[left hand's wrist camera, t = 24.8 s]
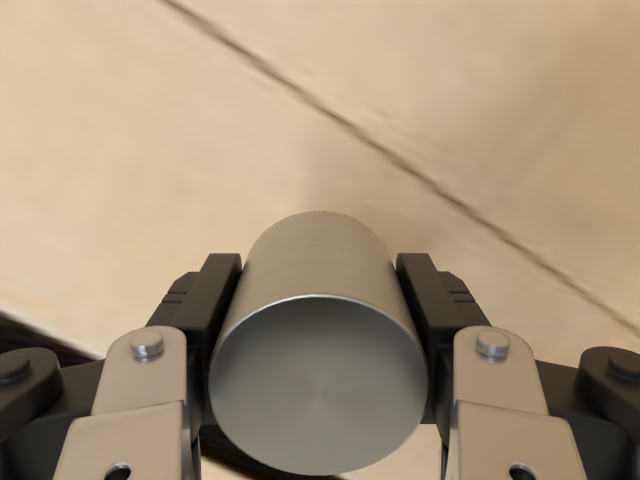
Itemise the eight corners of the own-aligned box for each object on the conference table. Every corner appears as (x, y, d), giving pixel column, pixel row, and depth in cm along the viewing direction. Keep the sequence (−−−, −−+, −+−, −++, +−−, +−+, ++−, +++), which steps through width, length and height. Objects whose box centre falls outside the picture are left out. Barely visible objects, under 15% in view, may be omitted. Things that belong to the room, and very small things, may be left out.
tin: (418, 239, 12) (471, 335, 8) (361, 361, 13) (380, 497, 9) (269, 188, 11) (240, 262, 7) (226, 320, 13) (181, 446, 9)
